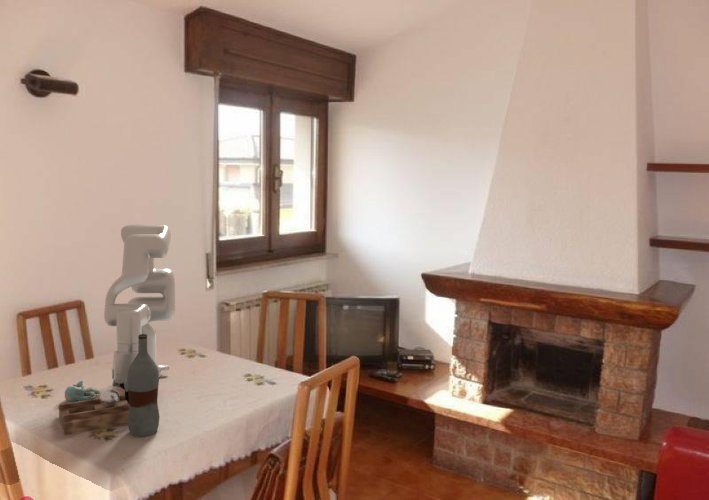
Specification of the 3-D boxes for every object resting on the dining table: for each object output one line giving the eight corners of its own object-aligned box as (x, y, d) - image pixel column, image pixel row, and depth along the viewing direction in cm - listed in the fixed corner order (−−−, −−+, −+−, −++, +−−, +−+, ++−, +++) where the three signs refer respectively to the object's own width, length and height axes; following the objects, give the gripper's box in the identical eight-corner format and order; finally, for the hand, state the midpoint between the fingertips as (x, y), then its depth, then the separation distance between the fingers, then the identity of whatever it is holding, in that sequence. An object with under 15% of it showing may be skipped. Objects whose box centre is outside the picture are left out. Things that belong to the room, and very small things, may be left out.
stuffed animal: (108, 382, 208) (76, 385, 198) (105, 403, 207) (73, 406, 197) (91, 376, 214) (59, 378, 204) (88, 396, 213) (55, 399, 204)
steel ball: (118, 402, 194) (117, 384, 194) (121, 408, 189) (121, 390, 188) (98, 405, 191) (98, 387, 190) (101, 411, 186) (101, 393, 185)
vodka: (160, 435, 178) (159, 337, 175) (127, 439, 175) (126, 339, 171) (158, 423, 187) (158, 330, 183) (127, 427, 183) (126, 332, 180)
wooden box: (124, 406, 200) (124, 391, 200) (134, 422, 187) (134, 407, 186) (59, 416, 190) (58, 401, 189) (64, 435, 176) (64, 419, 176)
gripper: (150, 341, 198) (150, 394, 200) (102, 346, 190) (103, 401, 192) (156, 346, 192) (156, 401, 194) (106, 352, 184) (107, 409, 186)
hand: (130, 401), depth 193 cm, fingers closed
